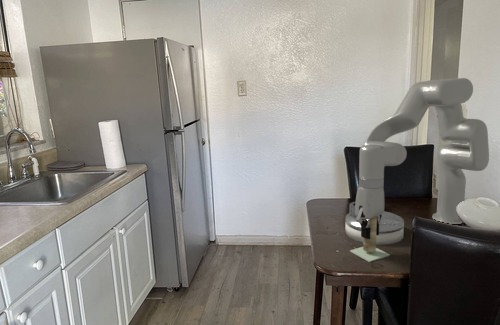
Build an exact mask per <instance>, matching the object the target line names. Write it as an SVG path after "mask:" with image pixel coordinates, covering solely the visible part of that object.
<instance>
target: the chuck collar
mask: <svg viewBox="0 0 500 325" xmlns="http://www.w3.org/2000/svg"><path fill="white" fill-rule="evenodd" d="M355 203H356V201H352V202H349V213H347V214H346V215H345V225H346V224H347V225H348V226H350V227H352V228H354V229H356V230H360V231H361V226H360V224H359V223H358V222H357V221H356V218H357V216H355ZM403 227H404V228H405V220H404V218H402V216H400V215H398V214H395V213H393V212H389V211H385V210H384V213H383V214H382V217H381V219H380V223H379V233H392V232H396V231H399V230H401V229H402V228H403Z"/></svg>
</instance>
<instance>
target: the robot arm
mask: <svg viewBox="0 0 500 325" xmlns="http://www.w3.org/2000/svg"><path fill="white" fill-rule="evenodd" d="M473 93H474V84H473V83H472V81H471V79H468V78H465V77H457V78H440V79H430V80H424V81H418V82H415V83H414V84H412V85H411V86H410V88H408V91H407V93H406V94H405V96H404V98H403V99H402V101H401V103H400V104H399V105H398V108H397V109H396V111H395V113H393V115H390V116H389V117H387V118H386V119H385V120H383V121H382V122H380V123H379V124H378V125H376V126H374V128H373V129H372V130H371V131H370V132H369V134H368V136H367V138H366V139H365V141H364V143H363V145H361V146H360V148H359V156H358V158H359V159H358V160H359V163H358V166H359V167H358V168H359V169H358V174H359V175H358V187H357V191H356V196H355V202H356V203H355V216H357V218H356V221H357V222H358V223H359V224H360V226H361V237H363V238H366V239H370V227H369V225H370V219H371V218H373V217H375V216H377V229H376V235H379V223H380V219H381V217H382V214H383V213H384V211H385V190H384V184H385V183H384V182H385V180H384V179H385V167H394V166H399V165H401V164H403V163H404V161H405V160H406V159H407V154H408V153H407V149H406V147H405V146H404V145H403V144H400V143H398V142H390V141H386V140H388V139H389V138H391V137H393V136H395V135H399V134H401V133H405V132H408V131H412V130H413V129H415V128H417V127H418V126H419V125H420V124H421V122H422V120H423V118H424V116H425V114H426V113H427V110H428V109H429V108H430V107H434V109H435V111H436V116H437V125H438V133H439V137H440V140H441V141H443V142H445V144H443V145H442V146H440V147H439V149H437V150H438V151H437V163H438V187H437V191H438V192H437V201H436V202H437V203H436V204H437V205H436V212H435V213H433V214H432V217H431V218H432V219H433V220H434V219H435V220H436V221H435V220H434V221H435V222H437V221H440V222H444V223H449V224H448V225H450V224H461V223H462V221H461V220H460V218H459V217H458V215H457V212H456V206H457V205H458V204H459V203H460V202H462V201H464V202H465V196H466V186H467V185H466V184H467V178H466V175H465V173H464V171H463V170H467V171H474V172H481V171H483V170H485V169H486V168H487V167H488V165H489V161H490V148H489V146H490V145H489V133H488V127H487V124H486V123H485V122H484V121H483V120H481V119H478V118H467V117H466V118H465V117H464V114H463V112H464V111H463V106H462V104H464V103H466V102H468V101H469V100H470V99H471V98H472V96H473ZM446 143H447V144H446ZM364 216H365V217H364ZM364 219H365V220H367V221H366V222H365V221H364ZM440 222H439V223H440ZM444 223H443V224H444Z"/></svg>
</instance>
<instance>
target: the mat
mask: <svg viewBox="0 0 500 325" xmlns="http://www.w3.org/2000/svg"><path fill="white" fill-rule="evenodd" d="M349 252H350V253H352V254H354V255H356V256H357V257H360V258H361V259H363V260H365V261H367V262H368V263H371V262H373V261H378V260H380V259H385V258H387V257H389V256H390V255H391V254H390V253H387V252H385V251H384V250H382V249H379V248H377V247H376V251H375V252H366V251H364V250H363V246H361V247H358V248H354V249H351V250H349Z"/></svg>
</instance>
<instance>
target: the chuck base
mask: <svg viewBox="0 0 500 325" xmlns="http://www.w3.org/2000/svg"><path fill="white" fill-rule="evenodd" d="M344 227H345V229H344V230H345V234H346V236H347V237H348V238H350V239H352V240H354V241H356V242H360V243H363V239H364V238H363V237H361V231H360V230H356V229H354V228H352V227H350V226H348V225H347V224H346V223H345V226H344ZM404 228H405V226H404V227H403V228H402V229H401V230H399V231H396V232H392V233H379V235H376V246H377V245H378V246H379V245H392V244H395V243H396V244H397V243H398V242H400V241H402V240H403V239H404V230H405V229H404Z"/></svg>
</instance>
